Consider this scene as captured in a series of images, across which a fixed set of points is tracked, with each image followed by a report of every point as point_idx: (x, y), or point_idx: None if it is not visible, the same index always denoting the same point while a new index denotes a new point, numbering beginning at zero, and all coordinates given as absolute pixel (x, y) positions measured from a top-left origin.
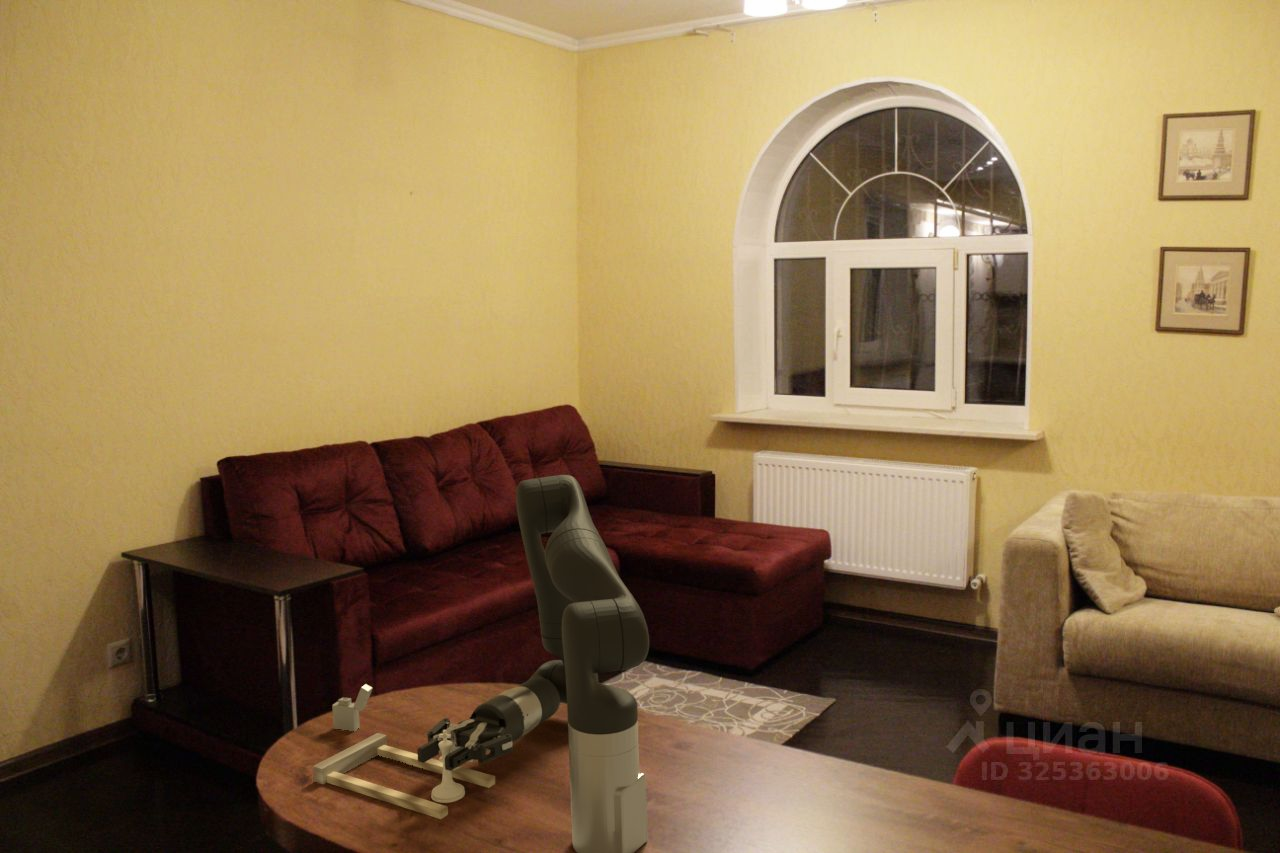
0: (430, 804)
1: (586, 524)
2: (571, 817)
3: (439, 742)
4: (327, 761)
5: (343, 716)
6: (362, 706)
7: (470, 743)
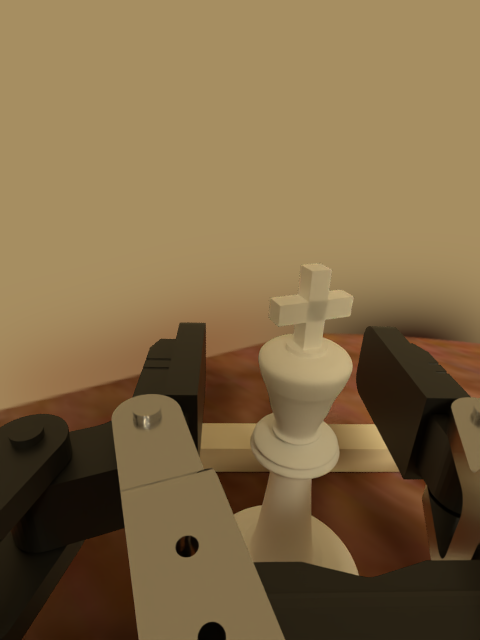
0: (228, 435)
1: None
2: None
3: (340, 346)
4: None
5: None
6: None
7: (140, 414)
